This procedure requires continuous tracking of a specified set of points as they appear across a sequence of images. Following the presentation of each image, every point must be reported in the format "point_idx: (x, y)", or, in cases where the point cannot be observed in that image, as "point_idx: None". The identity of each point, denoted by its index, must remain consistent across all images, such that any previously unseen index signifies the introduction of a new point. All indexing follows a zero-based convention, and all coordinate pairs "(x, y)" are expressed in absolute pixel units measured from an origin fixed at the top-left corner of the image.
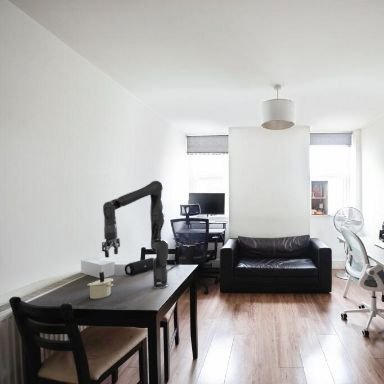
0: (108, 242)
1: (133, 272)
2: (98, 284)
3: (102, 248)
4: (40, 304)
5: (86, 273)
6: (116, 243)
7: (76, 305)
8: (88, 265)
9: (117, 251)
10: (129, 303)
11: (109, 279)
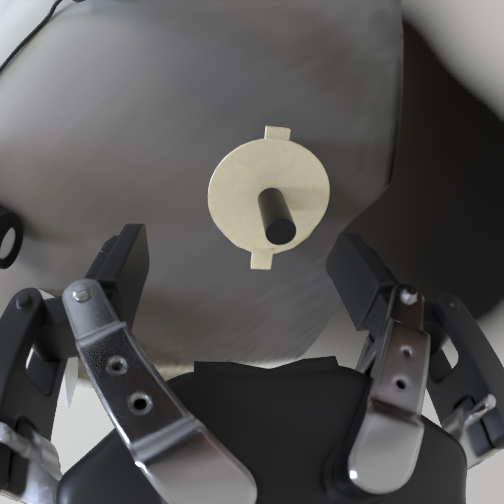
0: (461, 454)
1: (8, 213)
2: (327, 187)
3: (451, 369)
4: (325, 325)
5: (77, 365)
6: (113, 399)
7: (355, 216)
8: (69, 382)
9: (120, 243)
10: (349, 11)
11: (239, 173)
